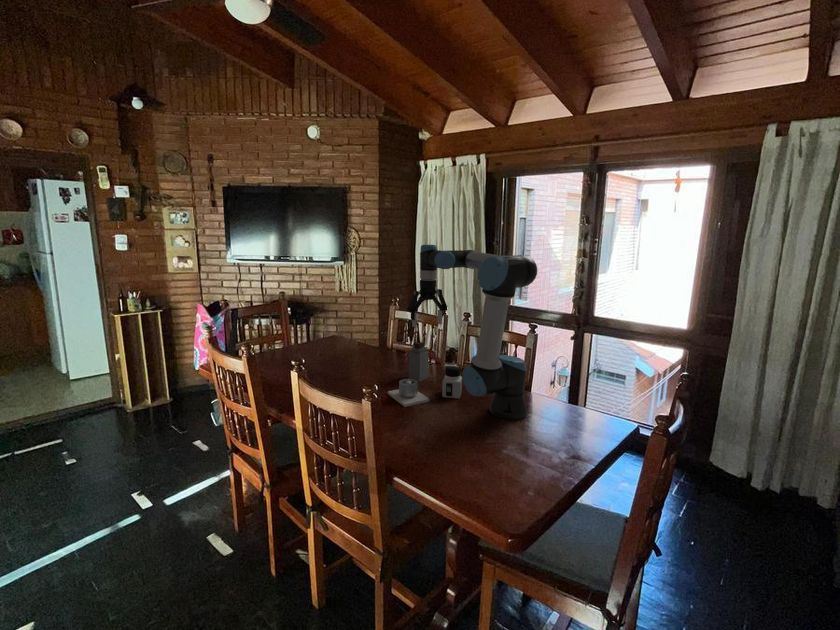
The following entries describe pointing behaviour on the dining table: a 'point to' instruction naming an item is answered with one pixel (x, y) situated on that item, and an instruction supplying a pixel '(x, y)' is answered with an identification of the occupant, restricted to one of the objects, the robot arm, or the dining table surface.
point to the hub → (408, 387)
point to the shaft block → (408, 397)
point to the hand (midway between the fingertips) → (427, 325)
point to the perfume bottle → (418, 362)
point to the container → (452, 382)
